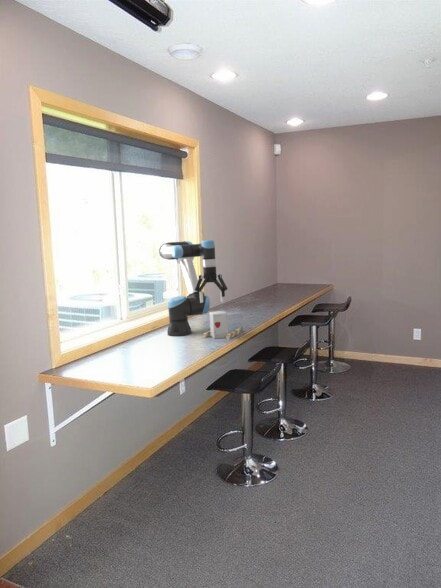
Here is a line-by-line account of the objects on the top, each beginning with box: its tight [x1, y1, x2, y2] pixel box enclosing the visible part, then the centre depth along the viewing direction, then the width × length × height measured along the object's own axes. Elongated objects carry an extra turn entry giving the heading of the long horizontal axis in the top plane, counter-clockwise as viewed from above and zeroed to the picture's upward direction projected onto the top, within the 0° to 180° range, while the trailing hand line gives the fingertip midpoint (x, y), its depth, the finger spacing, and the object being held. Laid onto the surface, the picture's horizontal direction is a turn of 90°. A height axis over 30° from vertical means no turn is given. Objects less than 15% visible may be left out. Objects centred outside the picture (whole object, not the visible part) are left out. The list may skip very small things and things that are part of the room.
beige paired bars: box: [202, 326, 244, 340], centre depth 286 cm, size 22×17×3 cm
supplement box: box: [208, 310, 229, 340], centre depth 279 cm, size 9×9×15 cm
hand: (211, 302), depth 274 cm, fingers open, 13 cm apart
